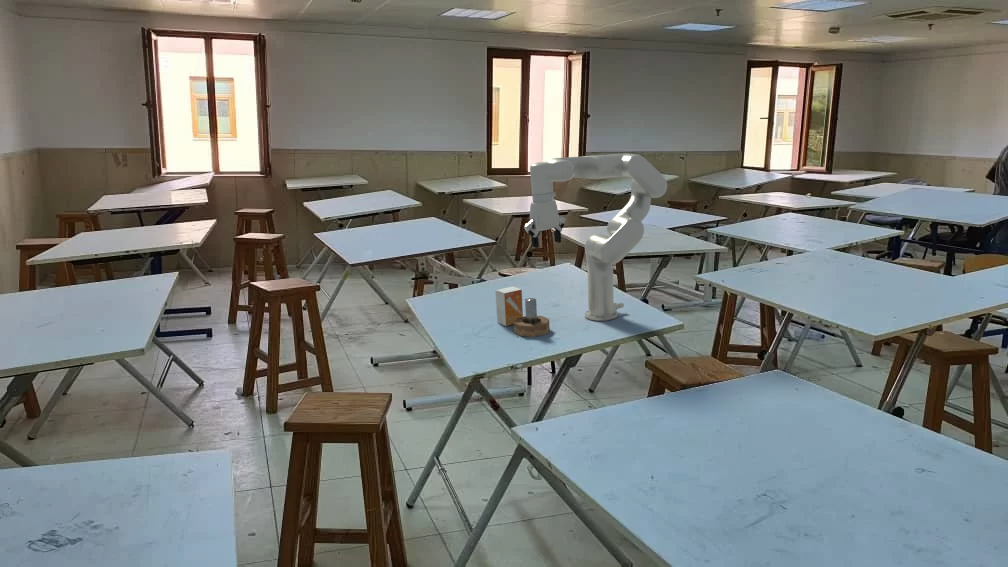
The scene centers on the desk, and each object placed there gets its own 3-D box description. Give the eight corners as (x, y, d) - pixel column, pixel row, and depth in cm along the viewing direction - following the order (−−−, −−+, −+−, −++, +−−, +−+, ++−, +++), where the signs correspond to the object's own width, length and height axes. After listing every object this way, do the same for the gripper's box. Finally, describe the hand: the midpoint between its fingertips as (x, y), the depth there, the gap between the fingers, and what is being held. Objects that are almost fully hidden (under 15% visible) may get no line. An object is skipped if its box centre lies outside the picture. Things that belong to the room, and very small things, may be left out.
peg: (533, 328, 259) (532, 297, 256) (539, 331, 256) (538, 299, 253) (524, 330, 258) (522, 299, 254) (530, 333, 254) (528, 301, 251)
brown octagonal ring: (537, 323, 265) (536, 313, 264) (554, 331, 255) (554, 321, 254) (509, 330, 259) (508, 319, 258) (526, 338, 249) (526, 328, 248)
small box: (506, 326, 264) (504, 293, 260) (496, 322, 269) (494, 289, 265) (523, 322, 268) (522, 289, 264) (514, 318, 273) (512, 285, 270)
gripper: (556, 193, 257) (560, 238, 262) (516, 200, 249) (521, 247, 254) (569, 194, 251) (572, 241, 255) (528, 202, 243) (532, 251, 247)
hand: (546, 244), depth 255 cm, fingers open, 9 cm apart
